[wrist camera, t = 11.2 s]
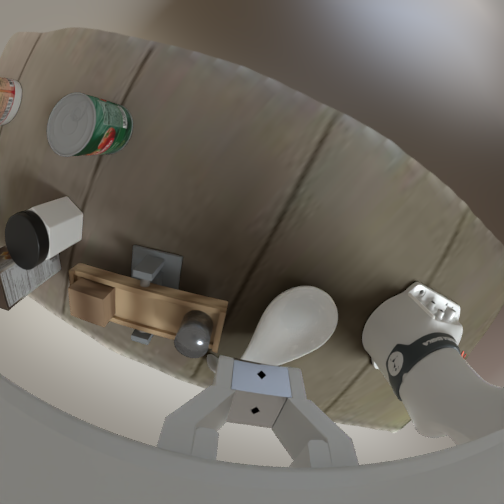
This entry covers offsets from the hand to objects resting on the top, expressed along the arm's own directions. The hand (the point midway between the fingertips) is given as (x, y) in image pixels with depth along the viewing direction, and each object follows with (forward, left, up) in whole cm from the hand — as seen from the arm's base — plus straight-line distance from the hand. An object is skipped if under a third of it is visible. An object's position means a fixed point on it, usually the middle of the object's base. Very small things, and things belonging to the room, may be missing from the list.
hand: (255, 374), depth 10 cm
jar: (+31, +8, -31) cm, 45 cm away
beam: (+13, +16, -26) cm, 33 cm away
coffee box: (+37, +15, -31) cm, 51 cm away
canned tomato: (+24, -8, -31) cm, 40 cm away
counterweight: (+4, +16, -25) cm, 30 cm away
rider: (+20, +16, -25) cm, 36 cm away
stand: (+13, +16, -31) cm, 37 cm away
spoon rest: (-7, +19, -32) cm, 37 cm away
